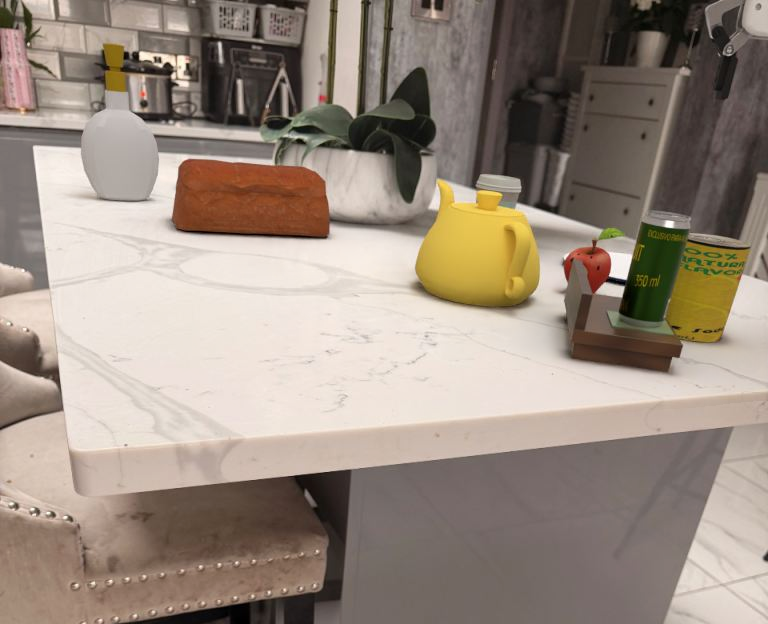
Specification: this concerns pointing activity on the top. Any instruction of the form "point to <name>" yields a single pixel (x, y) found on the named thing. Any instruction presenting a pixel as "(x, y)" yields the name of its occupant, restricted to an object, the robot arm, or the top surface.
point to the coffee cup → (501, 188)
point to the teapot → (479, 252)
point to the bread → (250, 199)
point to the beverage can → (706, 286)
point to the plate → (617, 266)
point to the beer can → (654, 268)
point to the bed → (613, 329)
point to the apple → (593, 260)
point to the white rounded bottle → (119, 141)
